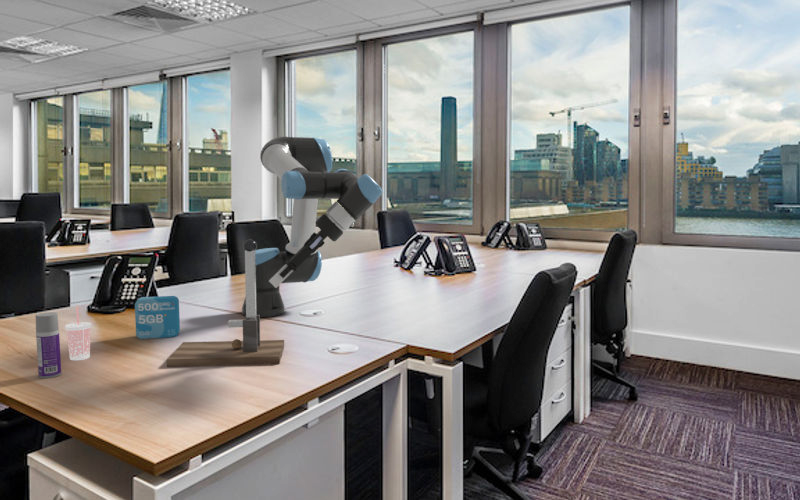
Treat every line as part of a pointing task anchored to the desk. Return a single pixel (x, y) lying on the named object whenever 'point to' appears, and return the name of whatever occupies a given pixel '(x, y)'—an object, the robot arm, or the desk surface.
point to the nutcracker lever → (248, 283)
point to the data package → (157, 317)
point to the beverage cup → (78, 339)
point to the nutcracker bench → (230, 350)
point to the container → (48, 345)
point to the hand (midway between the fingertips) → (272, 284)
